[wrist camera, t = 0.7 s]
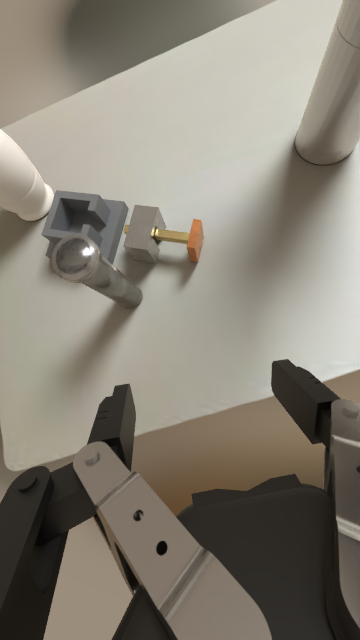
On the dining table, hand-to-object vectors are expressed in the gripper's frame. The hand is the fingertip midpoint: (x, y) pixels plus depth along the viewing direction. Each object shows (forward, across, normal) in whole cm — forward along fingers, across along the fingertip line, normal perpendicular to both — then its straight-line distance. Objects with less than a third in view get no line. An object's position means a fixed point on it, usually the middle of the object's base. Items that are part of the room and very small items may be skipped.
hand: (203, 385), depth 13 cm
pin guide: (+32, +2, -7) cm, 33 cm away
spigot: (+28, +7, +1) cm, 29 cm away
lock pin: (+31, -1, -7) cm, 32 cm away
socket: (+36, +13, -10) cm, 40 cm away
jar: (+44, +24, -17) cm, 53 cm away
